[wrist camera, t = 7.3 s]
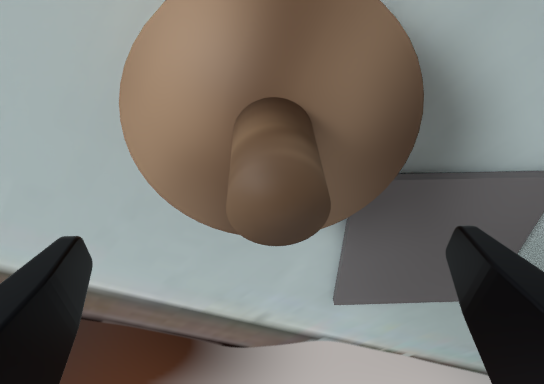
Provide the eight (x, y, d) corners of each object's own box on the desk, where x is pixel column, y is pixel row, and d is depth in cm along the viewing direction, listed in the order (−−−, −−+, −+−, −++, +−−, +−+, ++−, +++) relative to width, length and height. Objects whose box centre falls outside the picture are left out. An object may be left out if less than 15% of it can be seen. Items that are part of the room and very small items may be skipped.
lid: (451, -47, 11) (565, -12, 7) (384, 218, 17) (422, 313, 13) (85, -41, 10) (-17, -2, 6) (160, 225, 17) (132, 324, 13)
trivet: (559, 170, 21) (565, 176, 21) (484, 293, 29) (487, 300, 28) (355, 174, 21) (357, 181, 21) (332, 298, 29) (334, 305, 28)
